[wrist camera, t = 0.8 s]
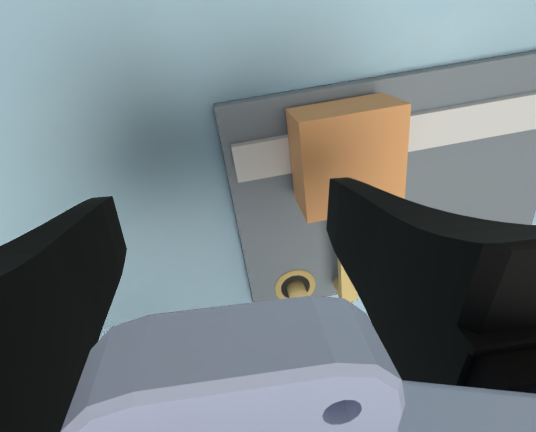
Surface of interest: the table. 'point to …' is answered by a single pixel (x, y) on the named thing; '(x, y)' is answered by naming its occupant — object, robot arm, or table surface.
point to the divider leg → (347, 153)
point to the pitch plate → (418, 163)
